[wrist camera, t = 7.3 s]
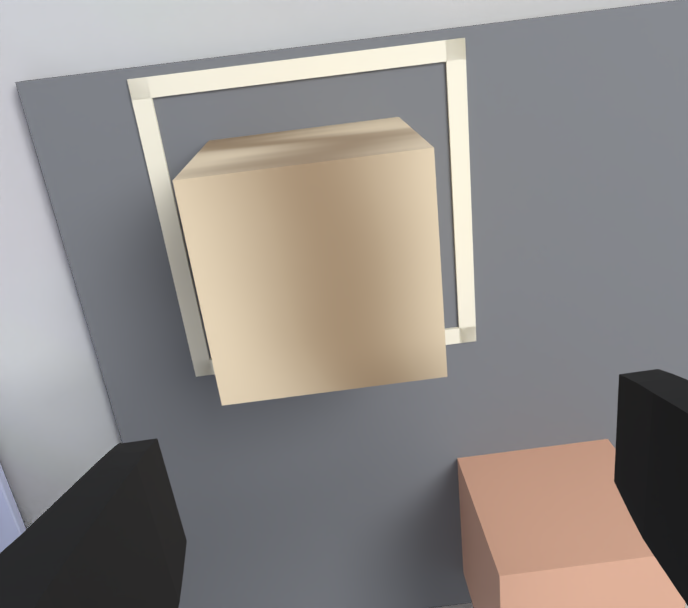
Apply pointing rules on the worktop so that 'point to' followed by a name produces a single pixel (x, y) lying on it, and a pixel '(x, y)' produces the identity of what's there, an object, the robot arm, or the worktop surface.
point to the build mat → (457, 284)
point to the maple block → (316, 259)
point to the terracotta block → (554, 533)
